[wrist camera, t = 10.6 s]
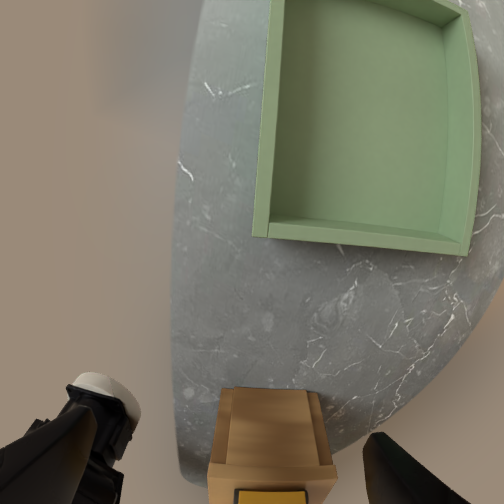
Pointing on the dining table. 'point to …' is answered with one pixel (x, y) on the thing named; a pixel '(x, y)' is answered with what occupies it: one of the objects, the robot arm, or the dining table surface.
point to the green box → (369, 125)
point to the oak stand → (269, 445)
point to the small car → (270, 497)
